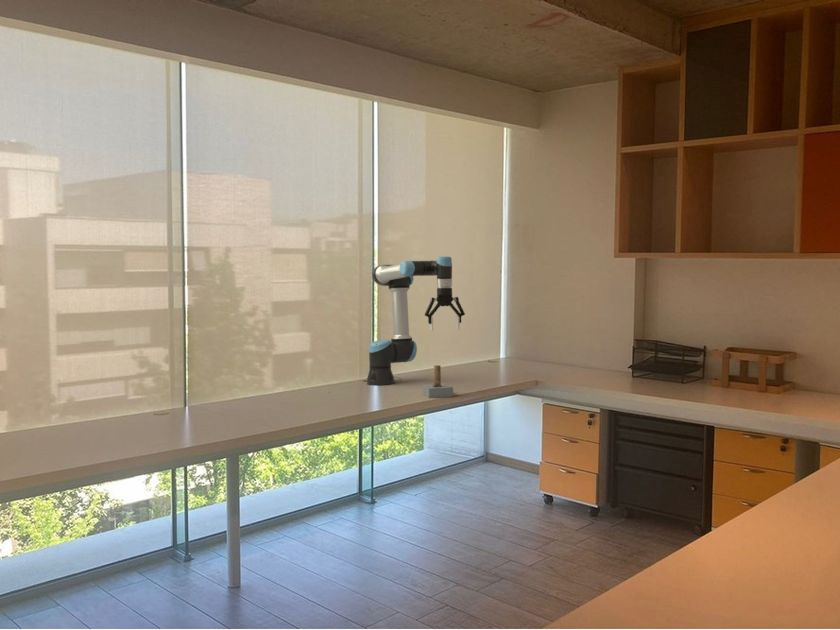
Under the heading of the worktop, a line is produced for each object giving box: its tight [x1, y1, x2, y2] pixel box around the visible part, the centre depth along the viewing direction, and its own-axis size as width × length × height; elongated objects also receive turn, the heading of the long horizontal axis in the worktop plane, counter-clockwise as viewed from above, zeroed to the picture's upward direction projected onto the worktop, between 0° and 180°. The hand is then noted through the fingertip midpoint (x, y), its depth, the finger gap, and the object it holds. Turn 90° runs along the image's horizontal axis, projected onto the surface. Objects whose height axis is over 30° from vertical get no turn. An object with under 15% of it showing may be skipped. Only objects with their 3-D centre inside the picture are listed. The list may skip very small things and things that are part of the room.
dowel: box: [433, 364, 442, 387], centre depth 368 cm, size 3×3×14 cm
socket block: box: [422, 383, 454, 399], centre depth 369 cm, size 12×12×4 cm
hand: (444, 330), depth 379 cm, fingers open, 13 cm apart
